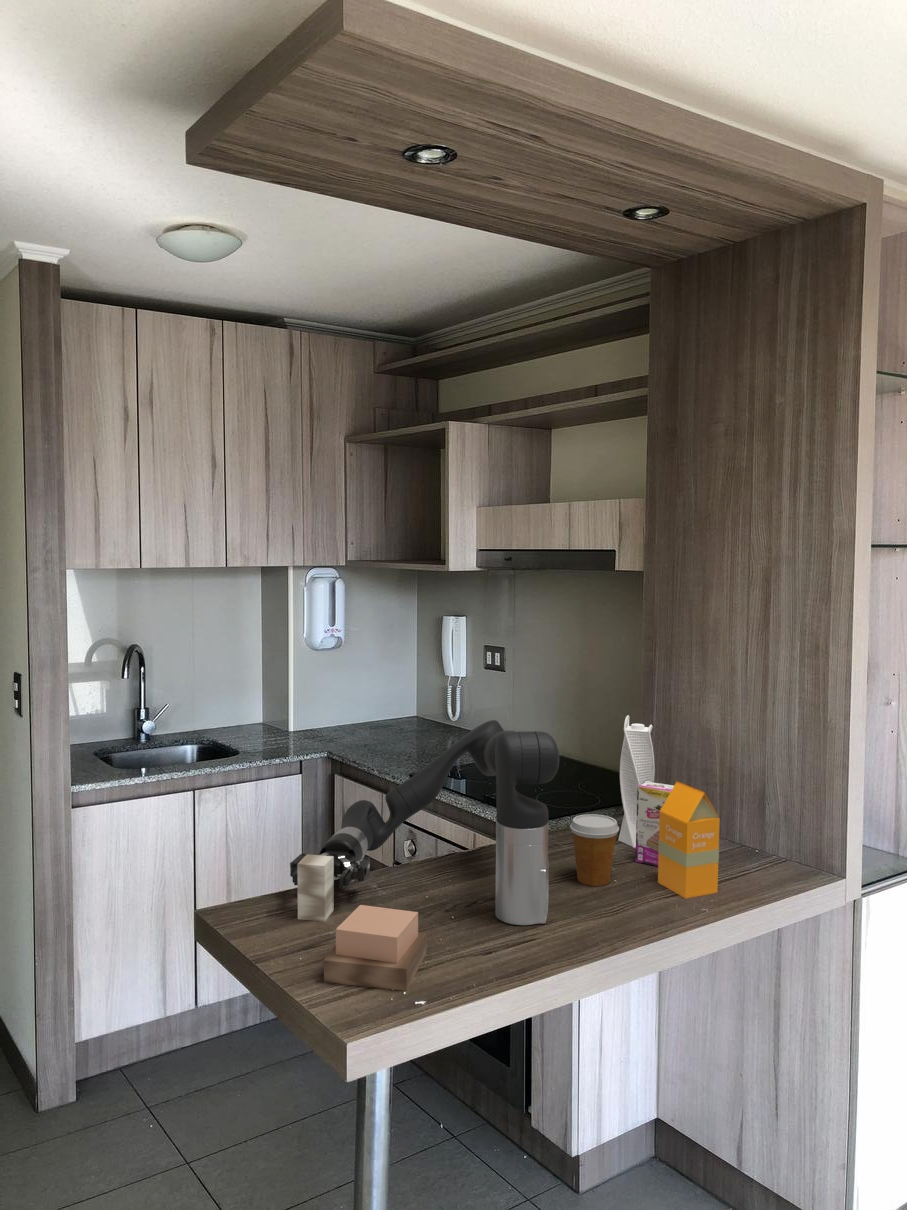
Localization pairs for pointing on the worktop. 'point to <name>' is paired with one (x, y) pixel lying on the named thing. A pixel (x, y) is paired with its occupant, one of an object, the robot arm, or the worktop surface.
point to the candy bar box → (649, 820)
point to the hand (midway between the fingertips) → (318, 881)
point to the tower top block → (377, 933)
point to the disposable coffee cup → (594, 847)
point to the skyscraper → (634, 774)
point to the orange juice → (688, 843)
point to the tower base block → (376, 968)
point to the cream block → (315, 887)
